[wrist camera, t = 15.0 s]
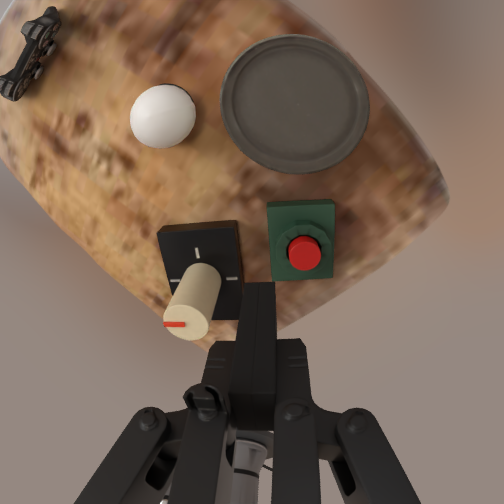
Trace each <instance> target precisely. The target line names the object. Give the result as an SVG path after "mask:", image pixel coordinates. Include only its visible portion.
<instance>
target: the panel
mask: <svg viewBox="0 0 504 504" xmlns="http://www.w3.org/2000/svg"><path fill="white" fill-rule="evenodd" d="M157 237H158V242H159V246H160V250H161V254H162V258H163V262H164V266H165V270H166V274H167V278H168V281H169V285H170V289H171V292H172V296H173V295H174V293H175V291H176V289H177V287H178V285H179V283H180V281H181V279H182V277H183V275H184V273H185V271H186V270H187V268H188V267H190V266H191V265H193V264H196V263H205V264H208V265H210V266H212V267H214V268H215V269H216V270H217V271H218V273H219V274H220V277H221V286H220V290H219V294H218V297H217V301H216V304H215V308H214V311H213V315H212V318H211V320H239V315H240V309H241V302H242V296H243V290H244V280H243V272H242V264H241V256H240V247H239V239H238V231H237V222H236V220H228V221H214V222H202V223H190V224H179V225H168V226H163V227H162V228H161V229H160V230H159V231H158V232H157Z"/></svg>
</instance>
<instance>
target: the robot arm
mask: <svg viewBox="0 0 504 504" xmlns="http://www.w3.org/2000/svg"><path fill="white" fill-rule="evenodd" d="M183 399H184V400H185V403H186V405H187V407H188V408H186V409H184V410H180V411H175V412H168V413H164V412H163V411H162V410H160V409H159V408H155V407H146V408H143V409H141V410H139V411H138V412H137V413H136V414H135V415H134V416H133V418H132V419H131V421H130V422H129V424H128V425H127V427H126V428H125V429H124V431H123V432H122V434H121V435H120V437H119V438H118V440H117V441H116V442H115V444H114V446H113V447H112V448H111V450H110V451H109V453H108V454H107V456H106V457H105V459H104V460H103V462H102V463H101V464H100V466H99V467H98V469H97V470H96V472H95V473H94V475H93V476H92V478H91V479H90V480H89V482H88V483H87V485H86V486H85V488H84V489H83V491H82V492H81V494H80V495H79V497H78V498H77V500H76V501H75V503H74V504H257V502H258V484H259V472H260V470H261V468H262V467H264V468H266V469H268V470H270V471H273V473H272V497H271V499H272V500H271V504H321V492H320V473H319V459H323V460H328V462H329V464H330V467H331V470H332V473H333V475H334V477H335V480H336V482H337V485H338V488H339V490H340V493H341V495H342V498H343V500H344V503H345V504H421V502H420V501H419V499H418V497H417V495H416V493H415V491H414V489H413V487H412V485H411V483H410V481H409V479H408V477H407V475H406V474H405V472H404V470H403V468H402V466H401V464H400V462H399V460H398V458H397V457H396V455H395V453H394V451H393V449H392V447H391V445H390V444H389V442H388V440H387V438H386V436H385V435H384V433H383V431H382V429H381V427H380V426H379V423H378V422H377V420H376V418H375V417H374V415H373V414H372V413H371V412H369V411H368V410H366V409H363V408H352V409H348V410H347V411H345V412H343V413H336V412H330V411H327V410H323V409H322V408H320V407H318V406H317V405H316V404H315V403H314V401H313V399H312V396H311V388H310V378H309V369H308V361H307V352H306V346H305V345H304V343H303V342H302V341H301V339H300V338H297V339H277V318H276V294H275V282H256V283H244V290H243V296H242V302H241V309H240V315H239V322H238V328H237V335H236V341H216V342H215V343H214V344H213V345H212V347H211V348H210V349H209V353H208V357H207V361H206V365H205V369H204V373H203V377H202V381H201V383H200V384H196V385H194V386H191V387H190V388H189V389H188V390H187V391H186V392H185V394H184V396H183ZM236 427H237V429H238V430H241V431H274V439H273V469H272V468H270V467H268V466H266V465H264V461H265V459H266V457H267V446H266V445H265V444H263V443H261V442H259V441H256V440H253V439H248V438H242V437H236V436H235V435H236Z"/></svg>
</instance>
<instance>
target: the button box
mask: <svg viewBox="0 0 504 504" xmlns="http://www.w3.org/2000/svg"><path fill="white" fill-rule="evenodd" d="M267 217H268V231H269V244H270V259H271V273H272V281H290V280H307V279H323V278H333V262H334V236H335V204H334V202H333V201H332V200H331V199H324V200H301V201H282V202H267ZM301 236H308V237H311V238H313V239H314V240H315V241H316V242H317V244H318V246H319V249H320V252H321V259H320V261H319V263H318V264H317V265H316V266H315V267H314V268H312V269H310V270H299V269H296V268H295V267H294V266H293V265H292V264H291V262H290V260H289V252H288V249H289V246H290V244H291V242H292V241H293V240H294V239H296V238H298V237H301Z"/></svg>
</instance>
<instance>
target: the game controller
mask: <svg viewBox="0 0 504 504" xmlns="http://www.w3.org/2000/svg"><path fill="white" fill-rule="evenodd" d="M60 26H61V21H60V19H59V15H58V11H57V9H56V7H54V6H51V7H48V8H47V9H46V11H45V12H44V14H43V16H41V17H39V18H37V19H35V20H32V21H27V22H26V23H25V24H24V25H23V27H22V29H21V33H22V34H23V35H24V36H25V40H26V43H27V44H26V46H25V48H24V50H23V52H22V54H21V55H20V57H19V59H18V61H17V63H16V66H15V68H14V69H12V70H11V71H9V72H8V73H7V74H5V75H2V76H0V93H1V95H2V96H3V97H5V98H7V99H9V100H11V101H17V100H19V99H20V98H21V96H22V95H23V94H24V92H25V91H26V89H27V87H28V85H29V83H30V80H31V79H33V78H34V79H37V78H39V76H40V75H41V73H42V72H43V66H41V63H40V62H39V59H40V57H41V56H45V55H46V54H47V56H50V55H51V54H52V53H53V52H54V50H55V48H56V46H57V45H56V43H54V40H53V38H54V37H55V36H56V34H57V32H58V30H59V28H60ZM53 43H54V44H53ZM40 66H41V67H40Z"/></svg>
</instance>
